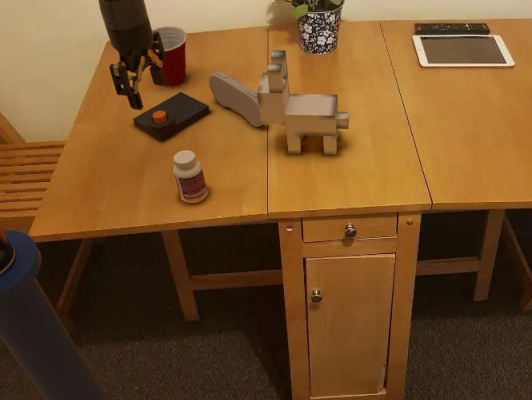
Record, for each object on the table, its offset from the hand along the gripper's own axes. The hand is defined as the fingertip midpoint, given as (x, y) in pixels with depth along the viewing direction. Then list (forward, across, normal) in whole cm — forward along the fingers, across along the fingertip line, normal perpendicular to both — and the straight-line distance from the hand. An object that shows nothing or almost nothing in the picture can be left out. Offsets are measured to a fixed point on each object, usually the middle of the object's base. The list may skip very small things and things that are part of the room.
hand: (149, 96), depth 112 cm
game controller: (+16, -19, +9) cm, 26 cm away
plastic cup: (+16, -29, -13) cm, 35 cm away
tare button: (+12, -8, -5) cm, 16 cm away
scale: (+16, -13, -6) cm, 21 cm away
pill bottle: (+16, +9, +11) cm, 21 cm away
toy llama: (+16, -12, +28) cm, 34 cm away
